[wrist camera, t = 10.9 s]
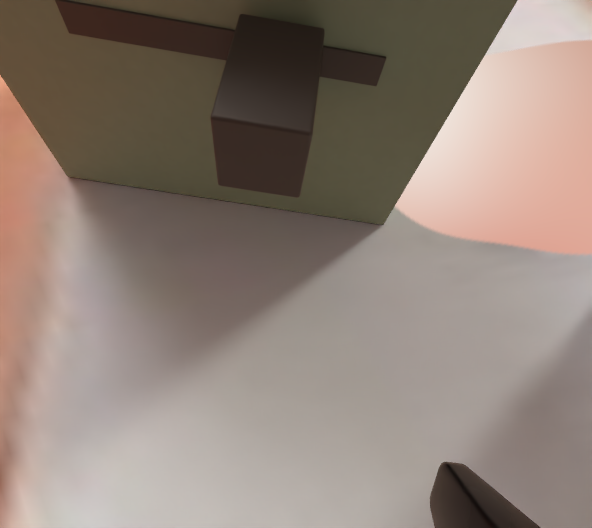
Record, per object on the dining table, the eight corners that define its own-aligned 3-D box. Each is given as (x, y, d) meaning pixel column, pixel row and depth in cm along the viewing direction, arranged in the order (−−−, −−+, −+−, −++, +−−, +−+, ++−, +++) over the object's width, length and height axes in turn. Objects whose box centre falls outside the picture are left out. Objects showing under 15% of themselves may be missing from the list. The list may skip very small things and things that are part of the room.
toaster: (383, 227, 20) (598, -129, 8) (66, 178, 19) (-260, -308, 7) (384, 91, 24) (520, -269, 12) (127, 47, 23) (-2, -387, 11)
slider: (299, 199, 11) (313, 133, 9) (217, 186, 11) (208, 117, 9) (312, 102, 13) (325, 26, 11) (240, 90, 13) (239, 11, 11)
